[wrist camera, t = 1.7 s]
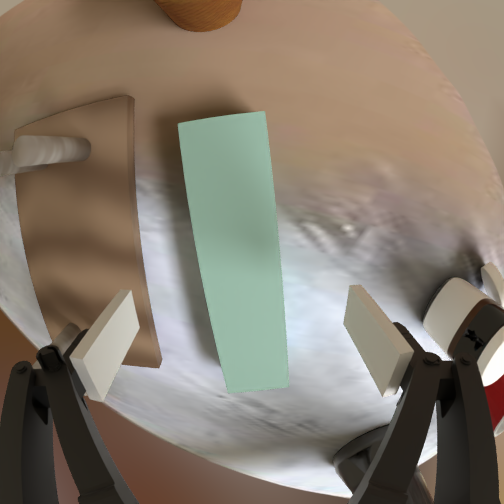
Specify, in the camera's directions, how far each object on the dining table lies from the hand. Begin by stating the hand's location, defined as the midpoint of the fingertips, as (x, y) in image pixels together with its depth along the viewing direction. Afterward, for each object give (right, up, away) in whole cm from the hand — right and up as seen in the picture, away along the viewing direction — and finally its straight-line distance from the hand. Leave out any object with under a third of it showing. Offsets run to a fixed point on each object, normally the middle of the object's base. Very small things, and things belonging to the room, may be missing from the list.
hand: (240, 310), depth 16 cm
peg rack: (-16, +4, +7) cm, 18 cm away
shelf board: (0, +2, +9) cm, 9 cm away
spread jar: (+26, -2, +11) cm, 28 cm away
